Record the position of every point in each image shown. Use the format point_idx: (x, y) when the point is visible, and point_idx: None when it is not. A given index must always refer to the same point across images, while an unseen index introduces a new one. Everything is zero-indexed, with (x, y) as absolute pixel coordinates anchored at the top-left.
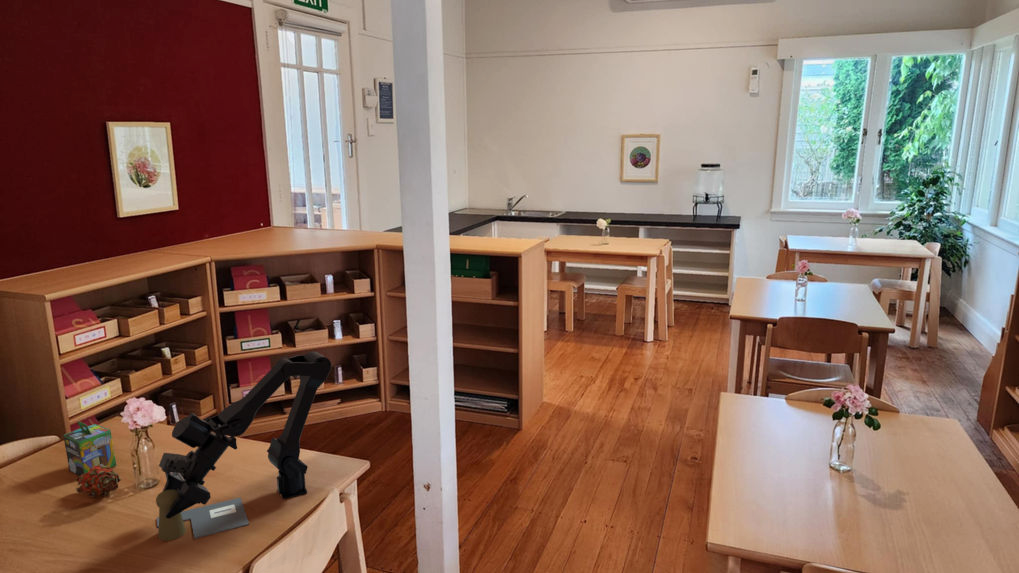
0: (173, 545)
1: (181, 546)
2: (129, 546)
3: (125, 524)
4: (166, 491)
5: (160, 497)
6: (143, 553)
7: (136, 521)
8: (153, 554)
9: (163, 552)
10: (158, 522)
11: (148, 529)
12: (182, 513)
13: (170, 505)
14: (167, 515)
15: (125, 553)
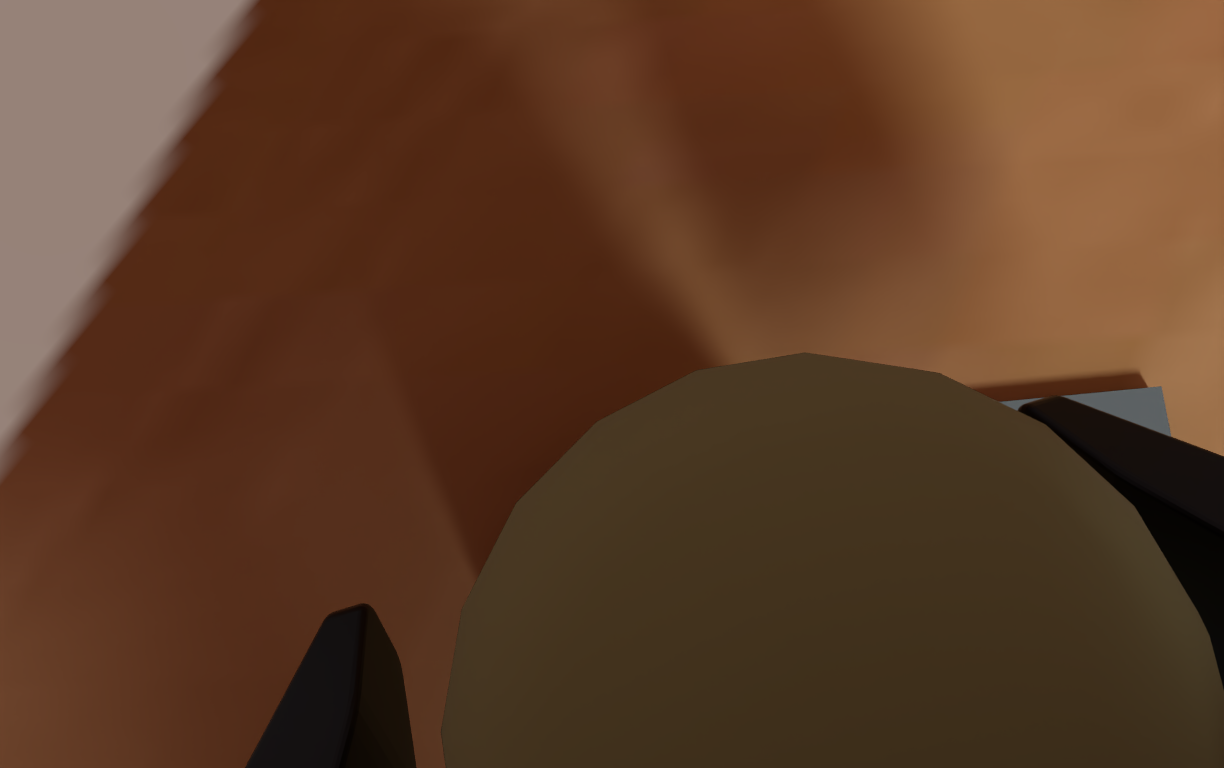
0: None
1: None
2: (582, 117)
3: (1130, 36)
4: (1016, 740)
5: (654, 509)
6: (343, 281)
7: (1162, 152)
8: (262, 398)
9: (250, 516)
10: None
11: (908, 304)
12: None
13: None
14: (313, 659)
15: (441, 86)
